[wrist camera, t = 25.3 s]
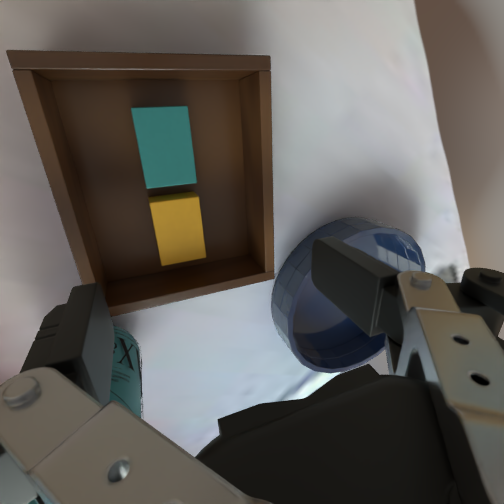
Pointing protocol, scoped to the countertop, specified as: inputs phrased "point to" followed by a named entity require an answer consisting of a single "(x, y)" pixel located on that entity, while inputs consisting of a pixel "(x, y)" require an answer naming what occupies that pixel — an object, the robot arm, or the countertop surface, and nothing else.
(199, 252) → the block
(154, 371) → the countertop surface
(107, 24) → the countertop surface
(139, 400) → the beverage bottle
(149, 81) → the box
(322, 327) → the bowl
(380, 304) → the robot arm
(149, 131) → the block
